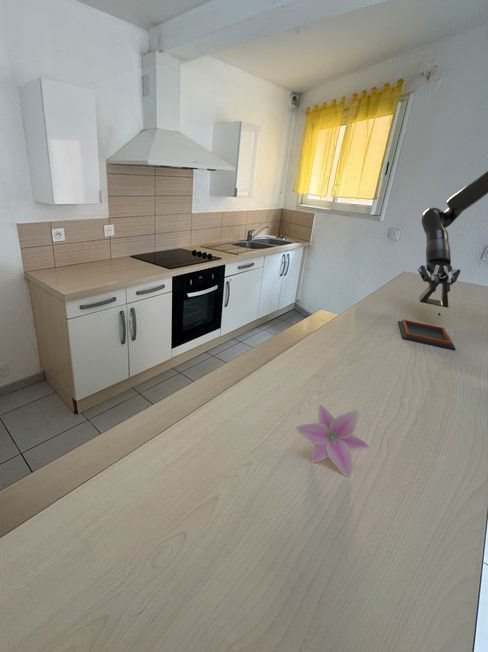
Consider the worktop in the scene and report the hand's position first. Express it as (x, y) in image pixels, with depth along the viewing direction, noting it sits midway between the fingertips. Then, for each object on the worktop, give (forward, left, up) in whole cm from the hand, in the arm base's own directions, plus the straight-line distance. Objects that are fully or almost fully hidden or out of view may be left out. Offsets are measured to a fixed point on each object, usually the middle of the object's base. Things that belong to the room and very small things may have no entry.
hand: (439, 292), depth 121 cm
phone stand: (0, -2, -5) cm, 6 cm away
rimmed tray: (+3, +14, -13) cm, 19 cm away
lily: (+30, +88, -13) cm, 94 cm away
